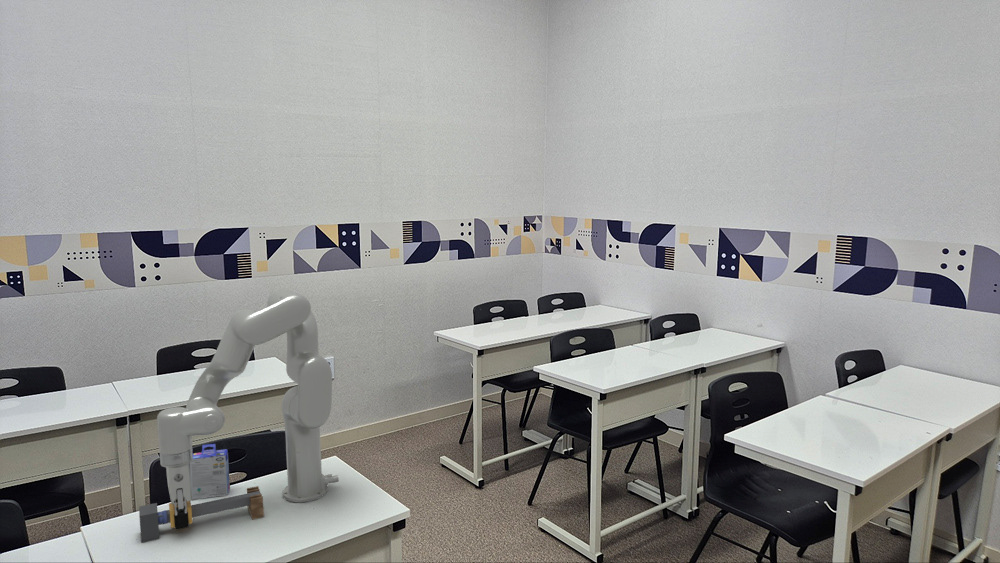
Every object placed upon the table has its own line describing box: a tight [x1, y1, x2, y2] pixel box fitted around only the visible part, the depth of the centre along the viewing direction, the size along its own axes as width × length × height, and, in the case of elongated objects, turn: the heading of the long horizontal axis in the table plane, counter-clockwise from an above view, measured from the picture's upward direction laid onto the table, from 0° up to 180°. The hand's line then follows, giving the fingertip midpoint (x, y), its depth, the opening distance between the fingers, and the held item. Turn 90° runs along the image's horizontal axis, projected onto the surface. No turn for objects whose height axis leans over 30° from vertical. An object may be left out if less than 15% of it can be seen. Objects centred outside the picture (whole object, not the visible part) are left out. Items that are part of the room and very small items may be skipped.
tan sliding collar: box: [168, 500, 193, 529], centre depth 169 cm, size 5×5×4 cm
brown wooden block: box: [246, 485, 265, 520], centre depth 178 cm, size 3×8×6 cm, turn 29°
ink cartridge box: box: [189, 443, 231, 501], centre depth 188 cm, size 10×6×14 cm, turn 108°
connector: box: [138, 502, 163, 544], centre depth 166 cm, size 5×6×7 cm
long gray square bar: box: [158, 491, 262, 526], centre depth 172 cm, size 27×3×3 cm, turn 119°
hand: (181, 522), depth 169 cm, fingers closed on tan sliding collar, 5 cm apart
